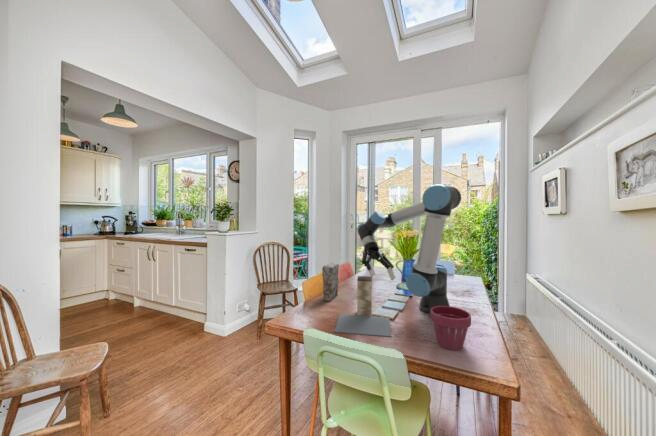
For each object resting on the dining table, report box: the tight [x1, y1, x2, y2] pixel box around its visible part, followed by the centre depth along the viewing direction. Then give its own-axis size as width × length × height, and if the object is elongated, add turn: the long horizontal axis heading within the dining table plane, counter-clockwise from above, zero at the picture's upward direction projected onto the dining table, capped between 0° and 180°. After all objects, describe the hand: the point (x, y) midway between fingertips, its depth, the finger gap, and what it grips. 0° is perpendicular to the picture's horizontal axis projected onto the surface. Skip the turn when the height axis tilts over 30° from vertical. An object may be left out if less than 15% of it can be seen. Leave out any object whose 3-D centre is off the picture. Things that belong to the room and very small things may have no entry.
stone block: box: [321, 262, 340, 302], centre depth 159 cm, size 13×7×20 cm, turn 164°
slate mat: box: [333, 313, 393, 338], centre depth 121 cm, size 24×20×1 cm
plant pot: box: [430, 306, 472, 351], centre depth 103 cm, size 14×14×13 cm
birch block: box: [356, 275, 373, 316], centre depth 135 cm, size 7×7×18 cm
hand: (383, 277), depth 134 cm, fingers open, 13 cm apart
